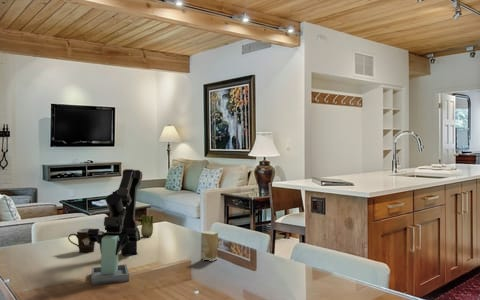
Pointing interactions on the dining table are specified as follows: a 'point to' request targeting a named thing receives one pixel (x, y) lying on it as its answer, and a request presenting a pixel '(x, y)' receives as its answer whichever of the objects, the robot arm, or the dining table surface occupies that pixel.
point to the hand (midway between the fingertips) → (108, 254)
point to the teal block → (109, 254)
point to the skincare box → (209, 245)
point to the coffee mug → (83, 241)
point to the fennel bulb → (147, 226)
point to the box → (110, 275)
